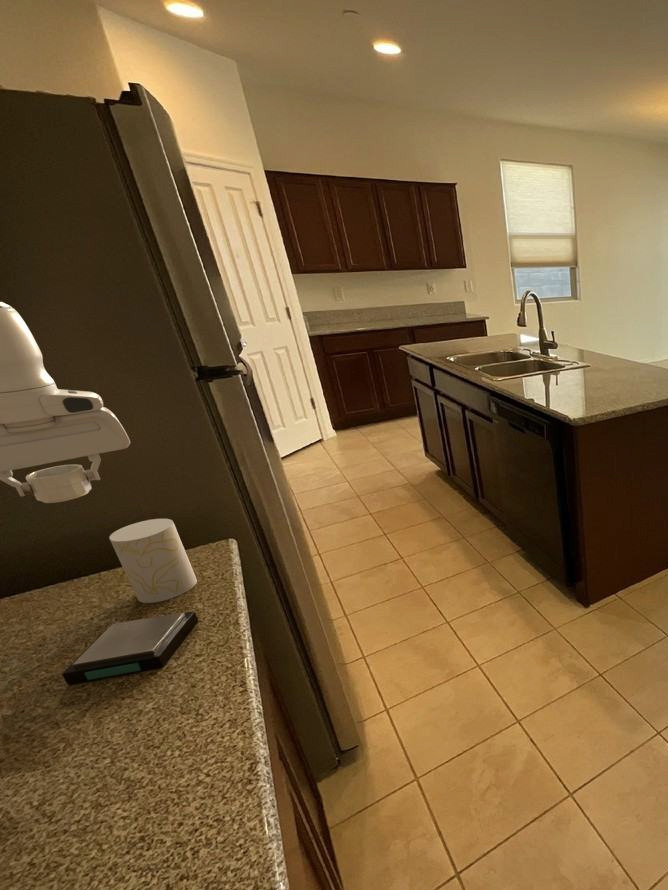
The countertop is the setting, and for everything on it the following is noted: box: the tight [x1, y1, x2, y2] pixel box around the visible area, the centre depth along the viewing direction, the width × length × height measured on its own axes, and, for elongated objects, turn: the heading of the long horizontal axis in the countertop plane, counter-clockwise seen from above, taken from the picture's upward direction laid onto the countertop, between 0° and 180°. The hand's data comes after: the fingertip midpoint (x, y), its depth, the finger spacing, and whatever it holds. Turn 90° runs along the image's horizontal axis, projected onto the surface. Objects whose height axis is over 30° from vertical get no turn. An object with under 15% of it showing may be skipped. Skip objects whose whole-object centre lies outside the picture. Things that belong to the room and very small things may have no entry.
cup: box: [108, 518, 198, 604], centre depth 90 cm, size 8×8×12 cm
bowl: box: [25, 463, 92, 504], centre depth 86 cm, size 6×6×4 cm
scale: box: [61, 610, 199, 686], centre depth 77 cm, size 11×11×3 cm
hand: (62, 487), depth 87 cm, fingers closed on bowl, 6 cm apart
